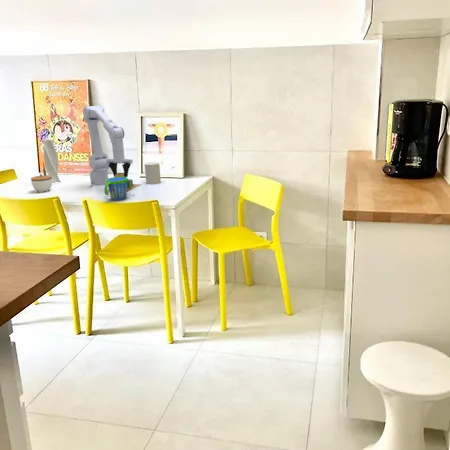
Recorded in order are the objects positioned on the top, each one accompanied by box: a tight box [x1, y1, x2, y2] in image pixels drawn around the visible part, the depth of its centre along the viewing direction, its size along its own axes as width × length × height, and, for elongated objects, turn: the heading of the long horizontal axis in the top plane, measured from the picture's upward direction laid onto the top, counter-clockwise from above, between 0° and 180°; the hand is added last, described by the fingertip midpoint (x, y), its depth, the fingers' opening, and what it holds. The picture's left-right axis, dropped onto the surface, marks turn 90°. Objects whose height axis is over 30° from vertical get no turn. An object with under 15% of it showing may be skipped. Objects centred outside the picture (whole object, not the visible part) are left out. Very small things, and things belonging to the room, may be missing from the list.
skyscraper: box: [41, 134, 61, 184], centre depth 287 cm, size 8×8×28 cm
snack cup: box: [103, 176, 131, 201], centre depth 245 cm, size 16×10×10 cm
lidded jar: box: [30, 173, 53, 193], centre depth 269 cm, size 11×11×9 cm
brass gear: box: [115, 172, 125, 177], centre depth 259 cm, size 6×6×4 cm
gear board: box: [107, 183, 143, 192], centre depth 264 cm, size 12×18×4 cm, turn 163°
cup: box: [144, 161, 162, 185], centre depth 273 cm, size 8×8×12 cm
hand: (120, 176), depth 259 cm, fingers closed on brass gear, 5 cm apart
